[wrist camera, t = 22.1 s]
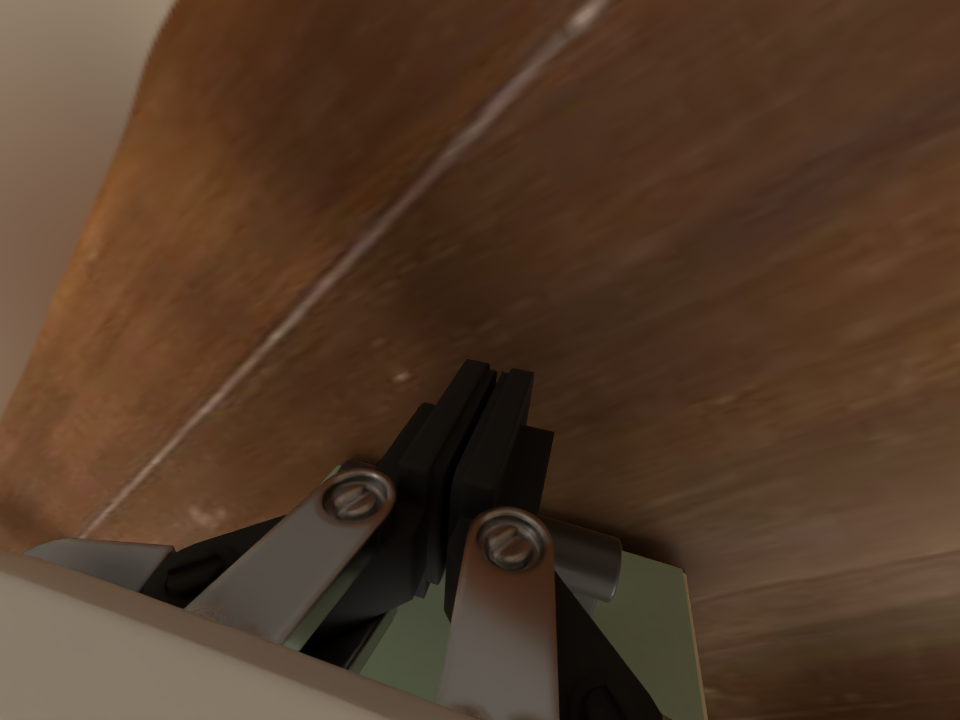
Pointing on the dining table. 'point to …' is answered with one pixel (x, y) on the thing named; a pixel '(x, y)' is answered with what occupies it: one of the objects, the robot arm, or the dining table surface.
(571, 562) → the drawer
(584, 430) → the dining table surface
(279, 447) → the dining table surface
